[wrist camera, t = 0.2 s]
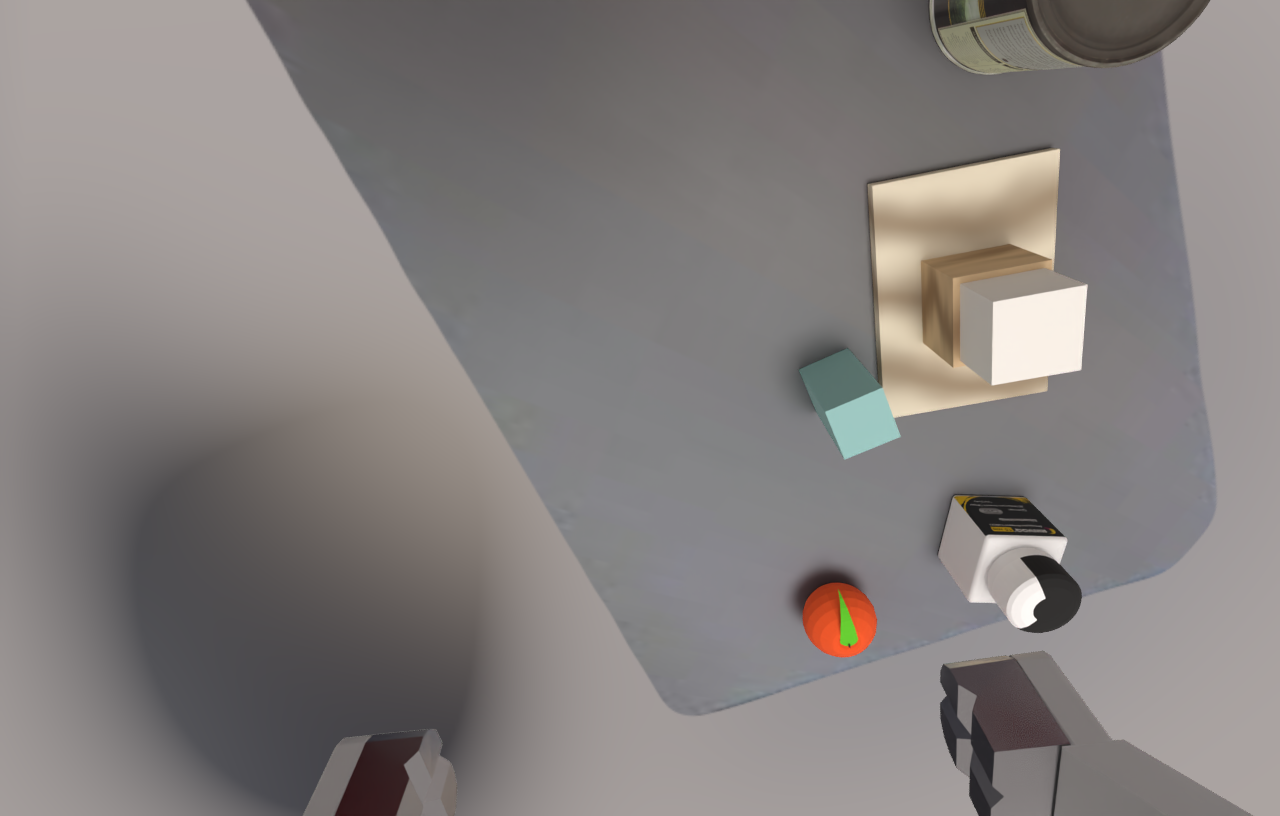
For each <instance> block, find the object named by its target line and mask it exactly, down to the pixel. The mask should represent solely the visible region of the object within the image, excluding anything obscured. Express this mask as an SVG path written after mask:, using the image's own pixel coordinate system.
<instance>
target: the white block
mask: <svg viewBox="0 0 1280 816" xmlns="http://www.w3.org/2000/svg"><path fill="white" fill-rule="evenodd" d="M1086 296H1087V284H1084V283H1082V282H1079V281H1077V280H1074V279H1072V278H1069V277H1067V276H1064V275H1062V274H1059V273H1057V272H1054V271H1052V270H1049V269H1047V268H1042V269H1036V270H1031V271H1026V272H1020V273H1015V274H1009V275H1004V276H999V277H993V278H988V279H982V280H977V281H972V282H966V283H961V284H960V361H961V362H962V363H964V364H965V365H966V366H967V367H969V368H970V369H971V370H973V371H974V372H975V373H976V374H978V375H979V376H980V377H981V378H983V379H984V380H985V381H987V382H988V383H989V384H990V385H998V384H1004V383H1009V382H1015V381H1021V380H1026V379H1032V378H1038V377H1043V376H1049V375H1055V374H1061V373H1066V372H1072V371H1078V370H1081V364H1082V350H1083V337H1084V323H1085V310H1086Z"/></svg>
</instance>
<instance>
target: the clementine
mask: <svg viewBox="0 0 1280 816" xmlns="http://www.w3.org/2000/svg"><path fill="white" fill-rule="evenodd" d="M803 625H804V628H805V631H806V634H807V635H808V637H809V639H810V640H811V642H812V643H813V644H814V645H815V646H816V647H817V648H818V649H820V650H821V651H823V652H824V653H827V654H829V655H832V656H836V657H850V656H854V655H857V654H859V653H861V652H862V651H863V650H865V649H866V648H867V647H868V645H869V644H870V643H871V641H872V640H873V638H874V636H875V633H876V626H877V618H876V614H875V611H874V607H873V605H872V604H871V602H870V601H869V599H868V598H867V596H866V595H865V594H864V593H862V592H861V591H860V590H858V589H857V588H855V587H854V586H851V585H849V584H844V583H829V584H825V585H823V586H821V587H819V588H817V589H816V590H815V591H814V592H813V593H812V594H811V595H810V596H809V597H808V599H807V600H806V603H805V606H804V609H803Z"/></svg>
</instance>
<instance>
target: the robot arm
mask: <svg viewBox="0 0 1280 816" xmlns="http://www.w3.org/2000/svg"><path fill="white" fill-rule="evenodd" d="M940 683H941V685H942V687H943V689H944V691H945V693H946V695H947V696H946V697H945V698H944V699H943V700H942V702H941V703H940V719H941V724H942V729H943V734H944V738H945V741H946V744H947V747H948V750H949V753H950V755H951V757H952V759H953V761H954V764H955V766H956V768H957V769H958V770H960V771H961V772H963V773H964V774H965V775H967V776H968V777H969V778H970V783H969V796H970V799H971V801H972V803H973V805H974V807H975V809H976V811H977V813H978V815H979V816H1253V815H1251V814H1250V813H1248V812H1246V811H1244V810H1243V809H1241V808H1239V807H1238V806H1236V805H1234V804H1232V803H1231V802H1229V801H1227V800H1226V799H1224V798H1222V797H1221V796H1219V795H1217V794H1215V793H1214V792H1212V791H1210V790H1208V789H1207V788H1205V787H1204V786H1202V785H1200V784H1198V783H1197V782H1195V781H1193V780H1192V779H1190V778H1188V777H1186V776H1185V775H1183V774H1181V773H1180V772H1178V771H1176V770H1175V769H1173V768H1171V767H1169V766H1168V765H1166V764H1164V763H1162V762H1161V761H1159V760H1157V759H1156V758H1154V757H1152V756H1151V755H1149V754H1147V753H1146V752H1144V751H1142V750H1140V749H1138V748H1137V747H1135V746H1134V745H1132V744H1130V743H1128V742H1127V741H1125V740H1114V741H1113V740H1112V739H1111V737H1110V736H1109V735H1108V733H1107V732H1106V731H1105V729H1104V728H1103V727H1102V725H1101V724H1100V722H1099V721H1098V720H1097V718H1096V717H1095V716H1094V714H1093V713H1092V712H1091V710H1090V709H1089V707H1088V706H1087V705H1086V703H1085V702H1084V701H1083V699H1082V698H1081V696H1080V695H1079V694H1078V693H1077V691H1076V690H1075V688H1074V687H1073V686H1072V684H1071V683H1070V681H1069V680H1068V679H1067V677H1066V676H1065V675H1064V673H1063V672H1062V671H1061V669H1060V668H1059V666H1058V665H1057V664H1056V662H1055V661H1054V660H1053V658H1052V657H1051V656H1050V655H1049V654H1048V653H1046V652H1045V651H1038V652H1031V653H1023V654H1015V655H1010V656H1006V655H1005V656H998V657H990V658H983V659H977V660H969V661H962V662H954V663H947V664H943V665H942V668H941V671H940ZM442 744H443V743H442V741H441V739H440V737H439V735H438V733H437V731H436V730H435V729H426V730H415V731H405V732H394V733H384V734H374V735H369V736H358V737H348V738H344V739H343V740H342V741H341V742H340V743H339V744H338V745H337V746H336V747H335V749H334V751H333V753H332V755H331V757H330V759H329V761H328V764H327V766H326V768H325V770H324V772H323V774H322V776H321V778H320V780H319V783H318V785H317V787H316V789H315V791H314V793H313V795H312V797H311V799H310V802H309V804H308V806H307V808H306V810H305V812H304V814H303V816H454V815H455V810H456V803H457V802H456V801H457V783H456V777H455V772H454V770H453V767H452V765H451V762H449V761H448V760H446V759H445V758H443V757H442V756H440V755H439V754H440V751H441V747H442Z"/></svg>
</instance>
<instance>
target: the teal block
mask: <svg viewBox="0 0 1280 816" xmlns="http://www.w3.org/2000/svg"><path fill="white" fill-rule="evenodd" d="M799 372H800V374H801V377H802V379H803V381H804V384H805V386H806V389H807V391H808V393H809V396H810V398H811V401H812V403H813V405H814V408H815V410H816V412H817V414H818V416H819V417H820V419H821V421H822V423H823V424H824V426H825V428H826V429H827V431H828V433H829V434H830V436H831V438H832V439H833V441H834V443H835V444H836V446H837V448H838V449H839V451H840V453H841V454H842V456H843V458H844V460H845V459H847V458H850V457H852V456H855V455H857V454H860V453H862V452H864V451H867V450H869V449H872V448H874V447H877V446H879V445H881V444H884V443H886V442H889V441H891V440H894V439H896V438H899V437H901V436H900V434H899V431H898V428H897V426H896V423H895V420H894V417H893V415H892V412H891V409H890V407H889V404H888V401H887V398H886V396H885V393H884V390H883V388H882V386H881V385H880V384H879V383H878V382H877V381H876V380H875V378H874V377H873V376H872V375H871V374H870V373H869V372H868V371H867V369H866V368H865V367H864V366H863V365H862V364H861V363H860V361H859V360H858V359H857V358H856V357H855V356H854V355H853V353H852V352H851V351H850V350H849V349H848V348H847V349H844V350H842V351H840V352H838V353H835V354H833V355H831V356H828V357H826V358H824V359H822V360H819V361H817V362H815V363H812V364H810V365H808V366H806V367H803V368H801V369H799Z"/></svg>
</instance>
